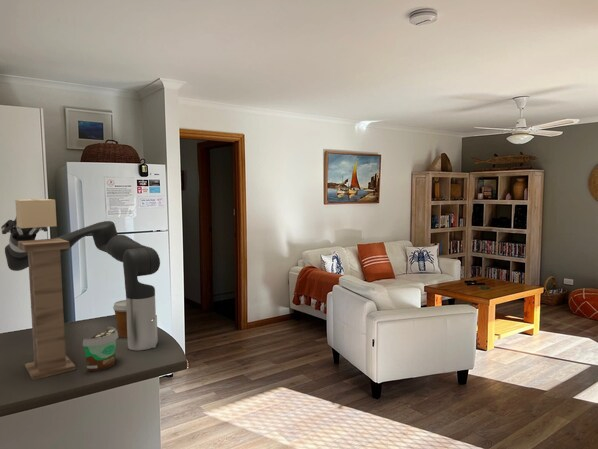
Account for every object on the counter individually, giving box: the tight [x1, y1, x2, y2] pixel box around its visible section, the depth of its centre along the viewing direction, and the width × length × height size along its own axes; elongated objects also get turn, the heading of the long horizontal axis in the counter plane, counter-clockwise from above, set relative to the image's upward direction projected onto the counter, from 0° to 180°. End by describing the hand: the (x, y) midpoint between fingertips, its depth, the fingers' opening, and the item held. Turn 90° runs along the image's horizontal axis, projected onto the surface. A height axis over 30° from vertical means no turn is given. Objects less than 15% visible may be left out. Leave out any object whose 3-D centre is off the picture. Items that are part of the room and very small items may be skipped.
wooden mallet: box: [14, 198, 58, 228], centre depth 139 cm, size 22×9×8 cm, turn 40°
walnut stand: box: [18, 237, 77, 381], centre depth 130 cm, size 12×11×38 cm
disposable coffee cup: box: [112, 299, 128, 339], centre depth 160 cm, size 10×10×12 cm
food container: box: [82, 326, 119, 372], centre depth 133 cm, size 12×6×10 cm, turn 168°
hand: (28, 216), depth 143 cm, fingers closed on wooden mallet, 4 cm apart
